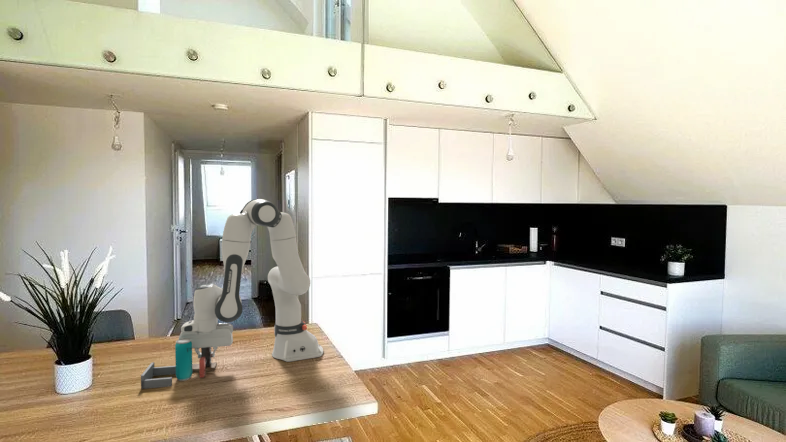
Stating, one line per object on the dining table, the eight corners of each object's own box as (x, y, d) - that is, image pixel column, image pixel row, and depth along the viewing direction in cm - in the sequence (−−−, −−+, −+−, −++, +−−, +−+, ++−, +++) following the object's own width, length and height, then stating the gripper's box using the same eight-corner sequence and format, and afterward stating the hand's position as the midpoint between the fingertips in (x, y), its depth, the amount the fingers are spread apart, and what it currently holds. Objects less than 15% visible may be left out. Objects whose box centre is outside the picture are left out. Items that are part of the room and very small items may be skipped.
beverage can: (195, 375, 161) (195, 338, 160) (186, 382, 155) (186, 343, 154) (181, 374, 162) (181, 337, 161) (172, 381, 156) (171, 342, 155)
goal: (179, 372, 163) (179, 360, 163) (171, 386, 152) (171, 373, 152) (151, 374, 161) (151, 362, 161) (141, 389, 149) (140, 375, 149)
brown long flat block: (216, 365, 171) (216, 362, 171) (214, 370, 166) (214, 367, 166) (174, 368, 167) (174, 365, 167) (171, 373, 162) (171, 370, 162)
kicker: (211, 365, 170) (211, 344, 169) (206, 377, 159) (205, 354, 158) (203, 366, 169) (202, 345, 168) (197, 377, 158) (196, 355, 158)
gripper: (234, 320, 172) (234, 352, 173) (180, 323, 167) (181, 356, 168) (232, 324, 166) (232, 358, 167) (176, 328, 161) (177, 362, 162)
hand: (206, 357), depth 167 cm, fingers closed on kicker, 3 cm apart
